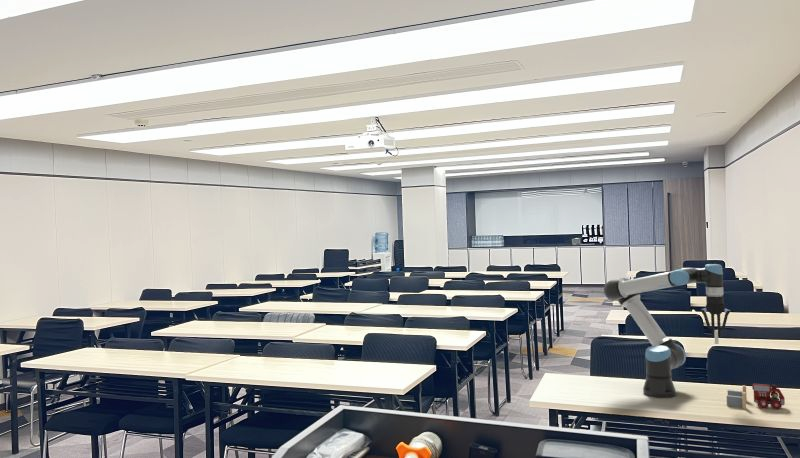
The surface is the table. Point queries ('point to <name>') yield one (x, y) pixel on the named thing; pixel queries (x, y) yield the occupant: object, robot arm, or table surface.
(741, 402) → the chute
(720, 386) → the table surface
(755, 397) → the toy fire truck
